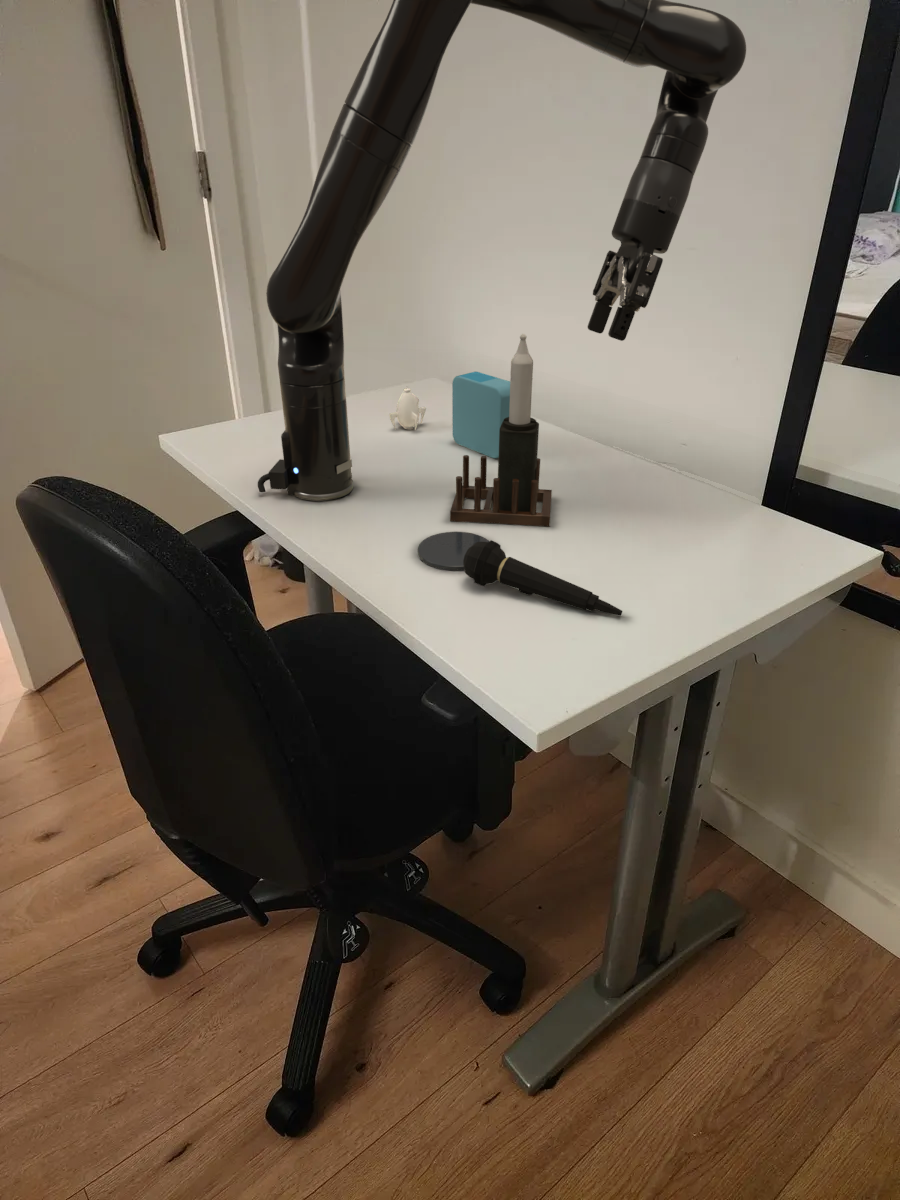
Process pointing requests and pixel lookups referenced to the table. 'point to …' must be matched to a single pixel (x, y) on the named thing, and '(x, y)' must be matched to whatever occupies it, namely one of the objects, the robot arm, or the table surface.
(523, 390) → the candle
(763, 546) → the table surface
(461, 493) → the drying rack
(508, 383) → the data package
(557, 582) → the microphone
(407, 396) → the rocket toy
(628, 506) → the table surface
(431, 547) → the slate coaster
